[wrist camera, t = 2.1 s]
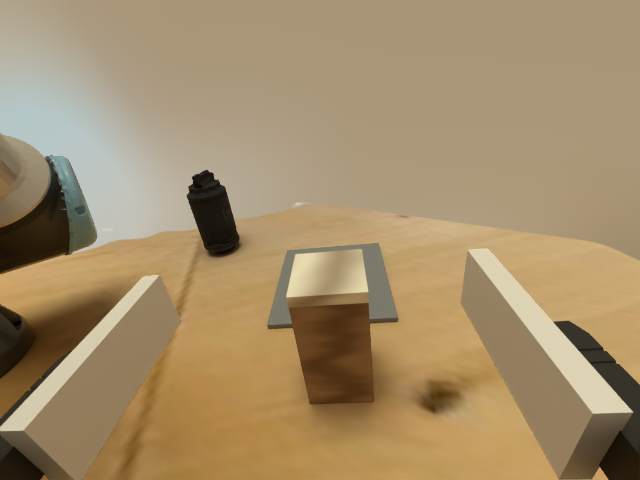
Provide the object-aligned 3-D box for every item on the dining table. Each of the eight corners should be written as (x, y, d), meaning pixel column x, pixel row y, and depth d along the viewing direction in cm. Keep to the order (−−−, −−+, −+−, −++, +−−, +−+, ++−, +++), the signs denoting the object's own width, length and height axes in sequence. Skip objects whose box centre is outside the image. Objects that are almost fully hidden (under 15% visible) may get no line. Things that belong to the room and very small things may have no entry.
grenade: (237, 255, 55) (213, 175, 48) (202, 259, 55) (173, 180, 48) (244, 237, 61) (225, 164, 54) (213, 240, 61) (189, 168, 54)
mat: (268, 328, 38) (267, 325, 37) (287, 253, 53) (287, 250, 53) (397, 321, 36) (397, 317, 36) (378, 246, 52) (378, 243, 52)
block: (309, 404, 28) (285, 297, 22) (313, 352, 34) (295, 254, 27) (374, 402, 28) (368, 292, 22) (367, 349, 33) (361, 248, 27)
